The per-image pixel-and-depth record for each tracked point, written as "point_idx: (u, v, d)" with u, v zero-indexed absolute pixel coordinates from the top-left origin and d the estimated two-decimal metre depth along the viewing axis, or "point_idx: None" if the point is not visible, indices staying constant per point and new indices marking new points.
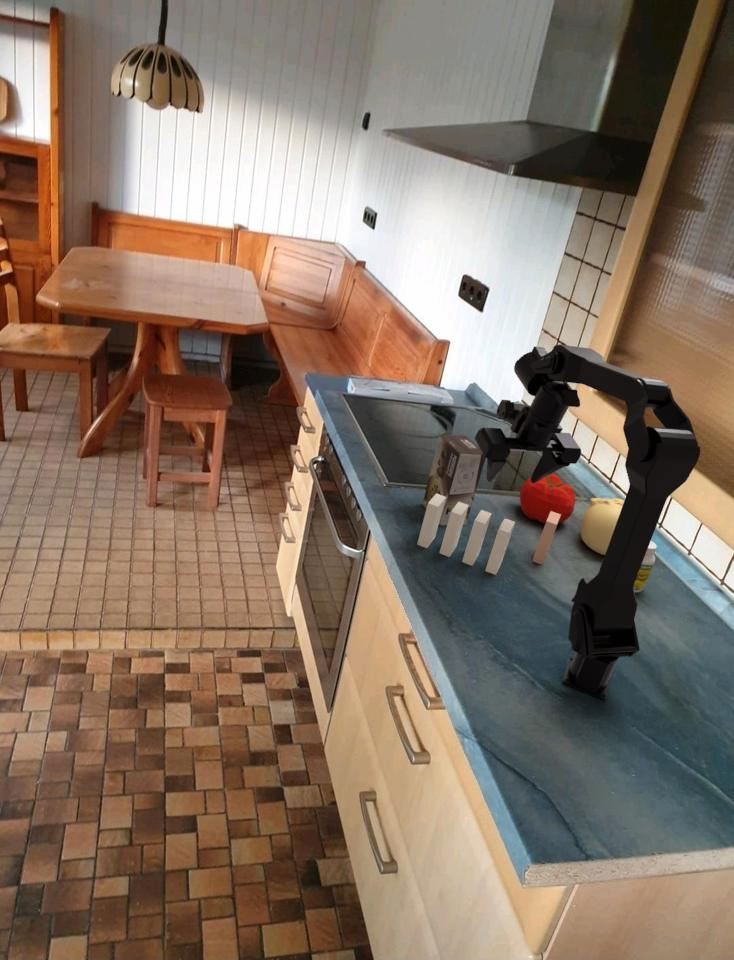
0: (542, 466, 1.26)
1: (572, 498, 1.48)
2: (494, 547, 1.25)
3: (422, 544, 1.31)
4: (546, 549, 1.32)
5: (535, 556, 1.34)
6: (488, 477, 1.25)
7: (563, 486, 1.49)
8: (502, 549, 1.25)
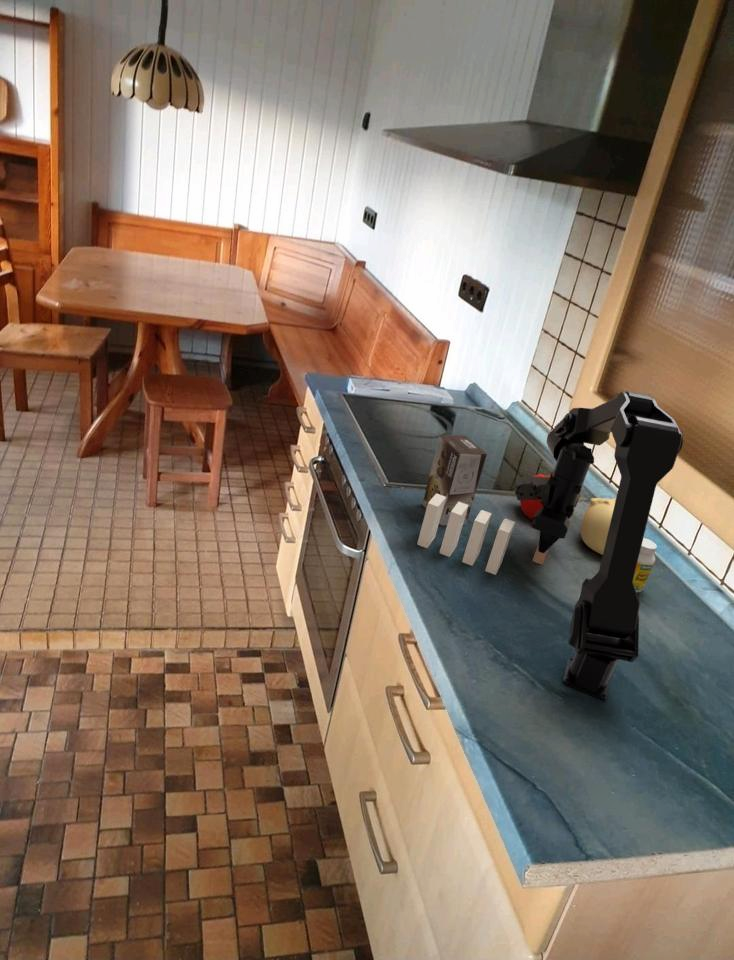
0: None
1: None
2: (494, 547, 1.25)
3: (422, 544, 1.31)
4: None
5: (535, 556, 1.34)
6: (543, 549, 1.32)
7: None
8: (502, 549, 1.25)
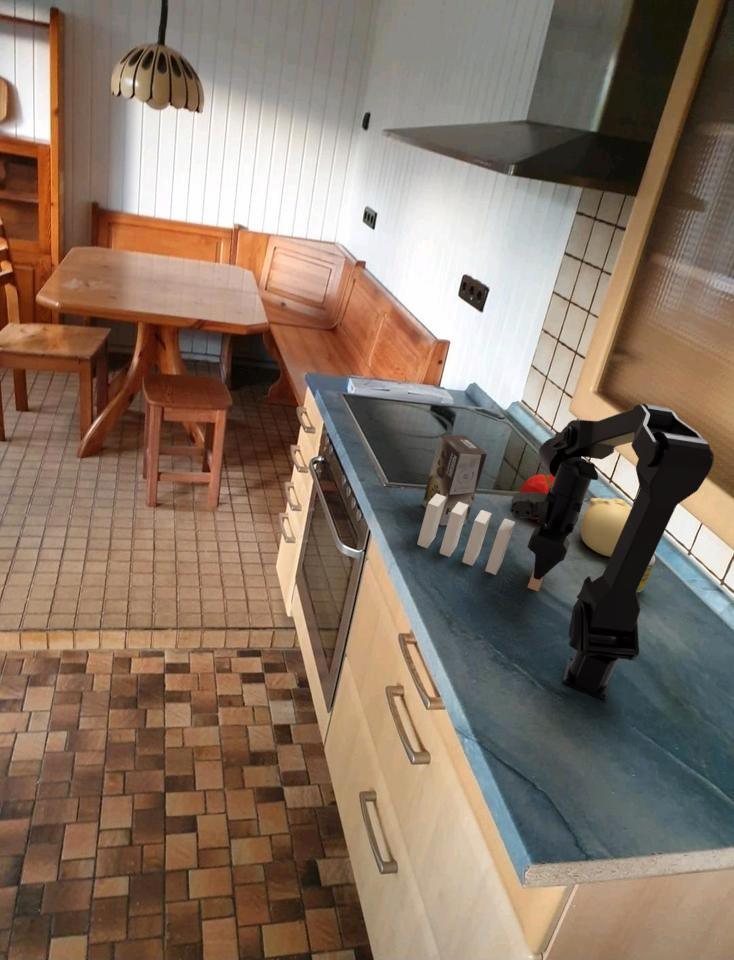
0: None
1: None
2: (494, 547, 1.25)
3: (422, 544, 1.31)
4: None
5: (530, 582, 1.25)
6: (539, 576, 1.21)
7: None
8: (502, 549, 1.25)
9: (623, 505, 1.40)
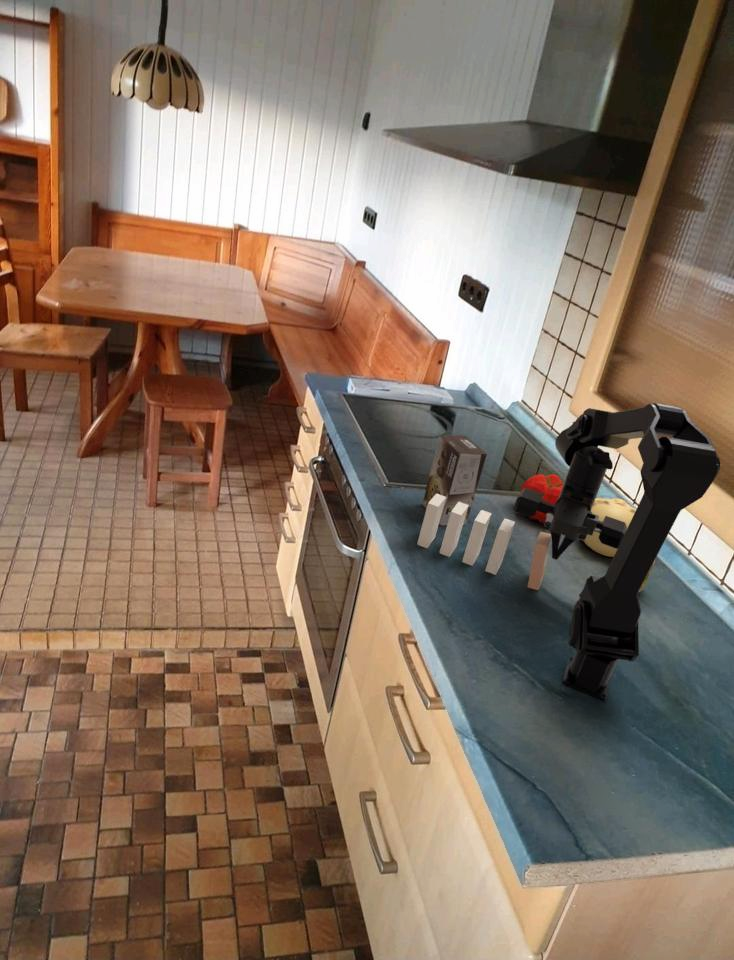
0: (560, 537, 1.23)
1: None
2: (494, 547, 1.25)
3: (422, 544, 1.31)
4: (540, 573, 1.23)
5: (530, 582, 1.25)
6: None
7: None
8: (502, 549, 1.25)
9: (623, 505, 1.40)
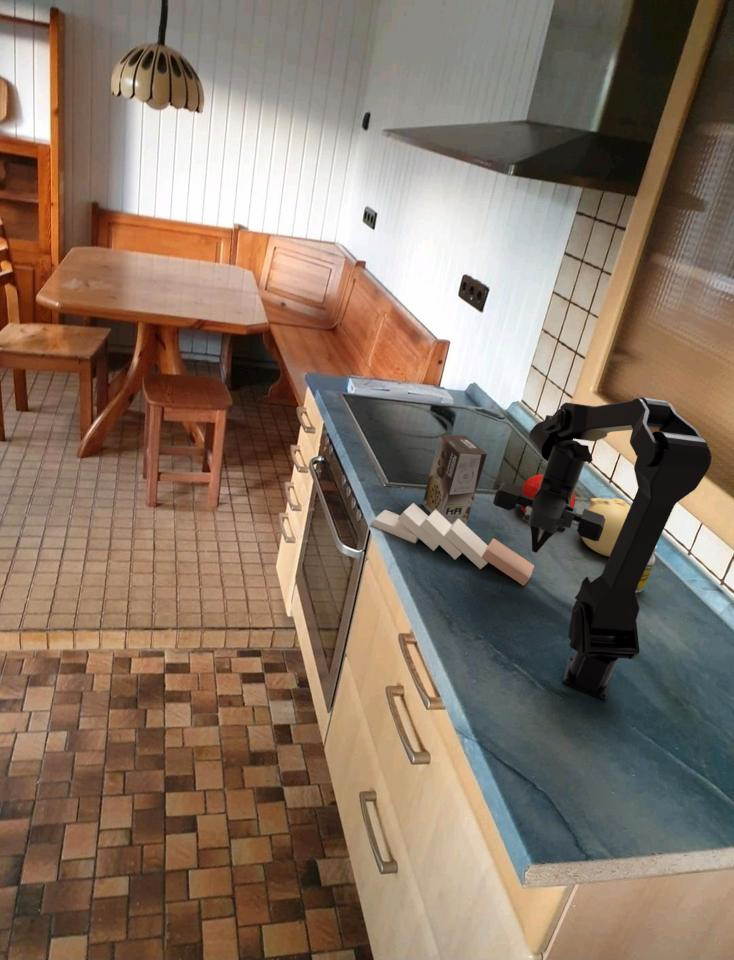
0: (539, 530, 1.24)
1: (572, 498, 1.48)
2: (460, 548, 1.28)
3: (414, 539, 1.31)
4: (512, 568, 1.25)
5: (518, 581, 1.26)
6: None
7: None
8: (464, 543, 1.27)
9: (623, 505, 1.40)
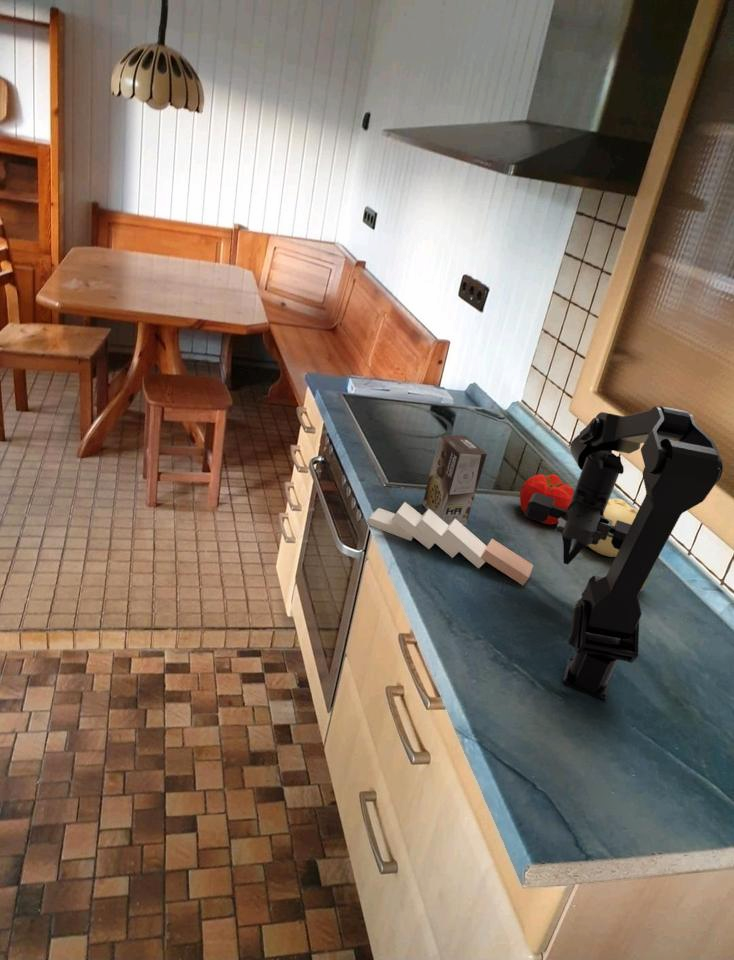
0: (571, 542, 1.22)
1: None
2: (457, 548, 1.28)
3: (410, 537, 1.32)
4: (511, 568, 1.25)
5: (518, 580, 1.26)
6: None
7: (563, 486, 1.49)
8: (461, 543, 1.27)
9: (623, 505, 1.40)
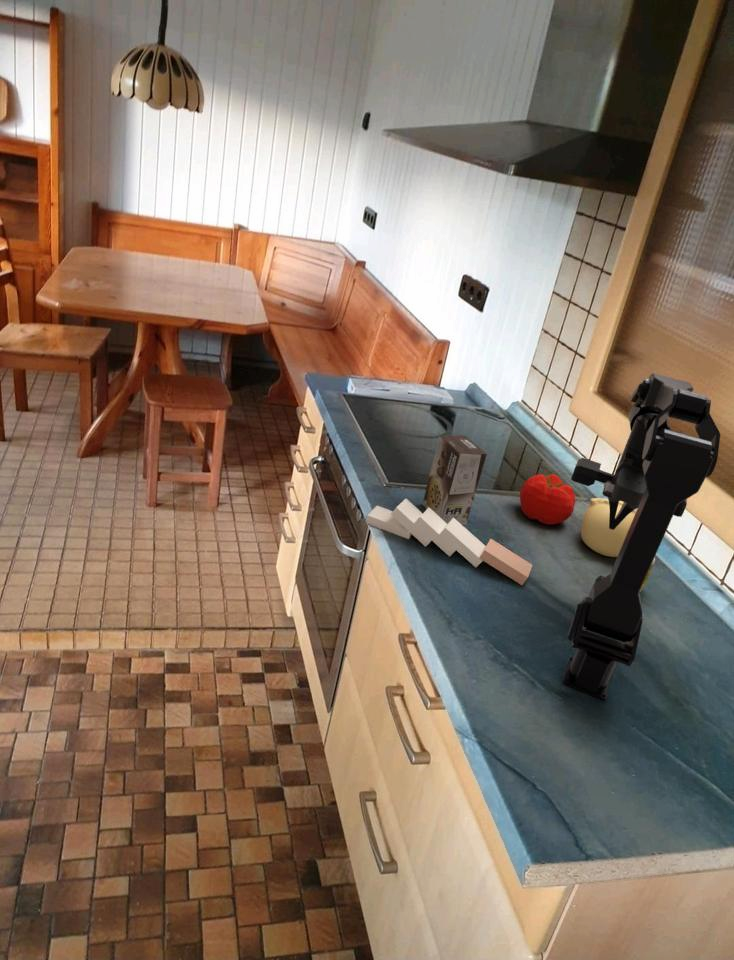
0: None
1: (572, 498, 1.48)
2: (455, 547, 1.28)
3: (407, 534, 1.32)
4: (510, 568, 1.25)
5: (517, 580, 1.26)
6: None
7: (563, 486, 1.49)
8: (459, 541, 1.28)
9: None
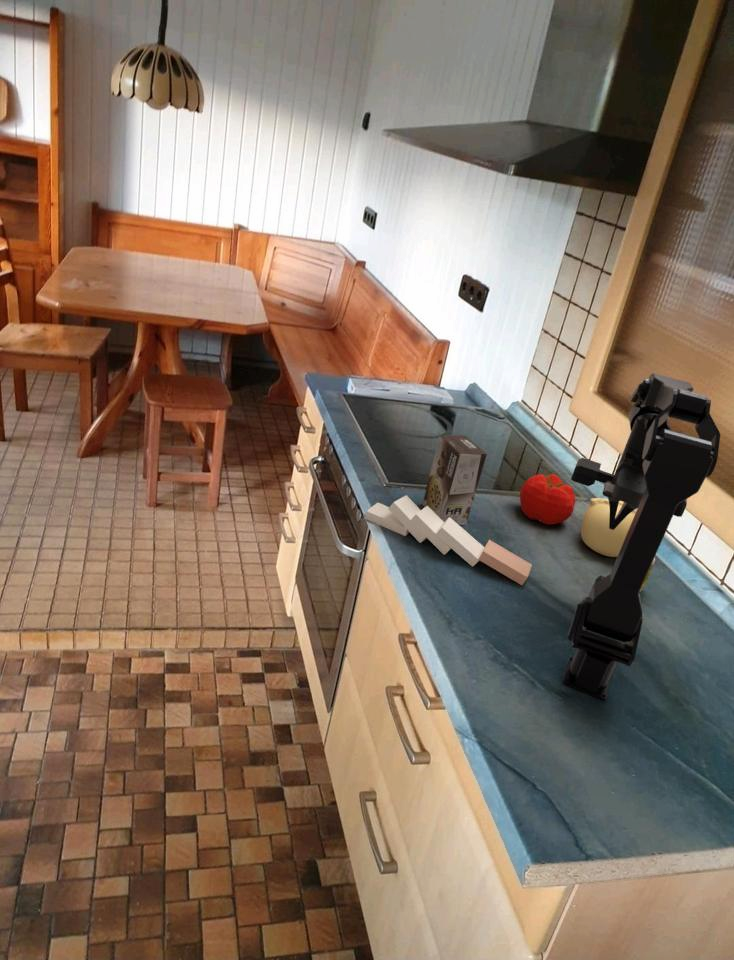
0: None
1: (572, 498, 1.48)
2: (451, 546, 1.28)
3: (404, 532, 1.33)
4: (510, 568, 1.25)
5: (517, 581, 1.26)
6: None
7: (563, 486, 1.49)
8: (455, 541, 1.28)
9: None
